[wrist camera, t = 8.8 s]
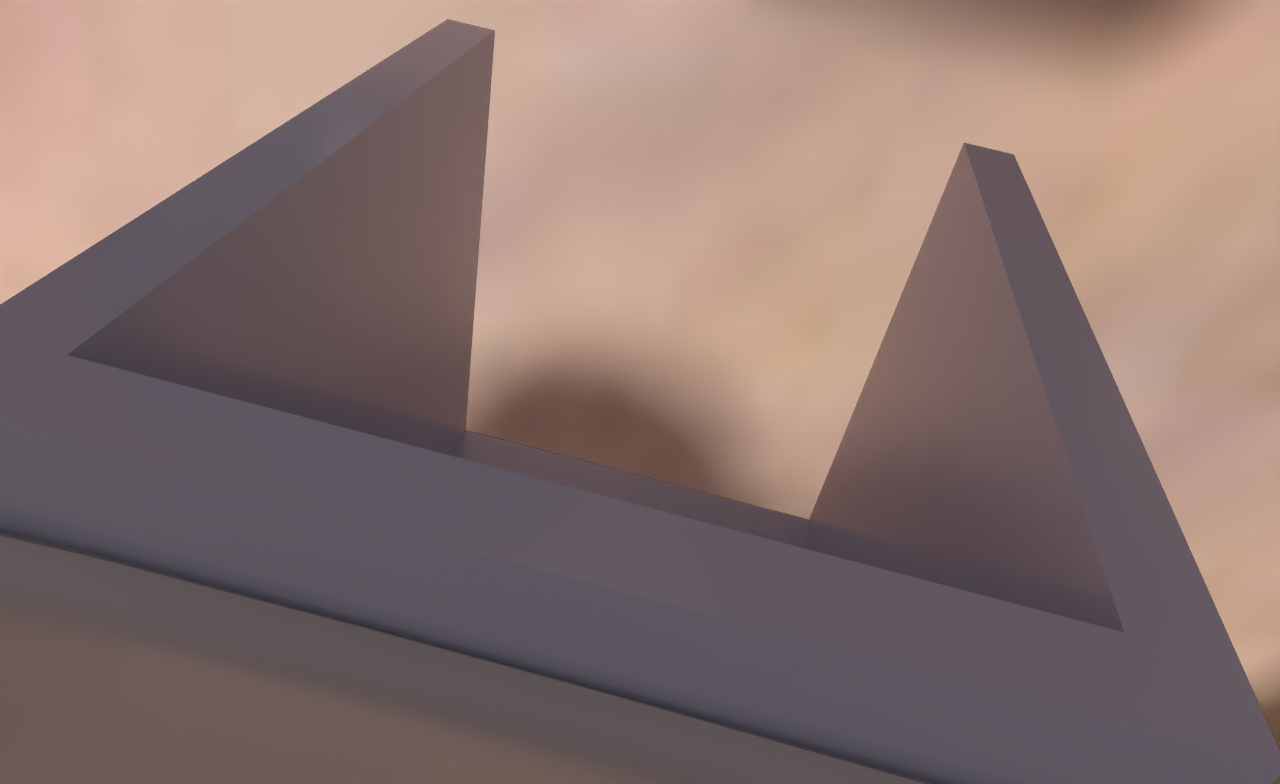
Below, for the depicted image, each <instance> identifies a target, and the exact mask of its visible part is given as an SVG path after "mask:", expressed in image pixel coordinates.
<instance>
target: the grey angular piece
mask: <svg viewBox="0 0 1280 784" xmlns="http://www.w3.org/2000/svg"><path fill="white" fill-rule="evenodd" d="M494 36H495V30H490V29H486V28H482V27H478V26H474V25H470V24H465V23H461V22H457V21H453V20H449V19H447V20H446V21H444V22H443V23H441V24H439V25H438V26H436V27H435V28H433V29H432V30H430V31H429V32H427V33H425V34H424V35H422V36H421V37H419V38H418V39H416V40H414V41H413V42H411V43H410V44H408V45H407V46H405V47H403V48H402V49H400V50H399V51H397V52H396V53H394V54H392V55H391V56H389V57H388V58H386V59H385V60H383V61H381V62H380V63H378V64H377V65H375V66H374V67H372V68H371V69H369V70H367V71H366V72H364V73H363V74H361V75H360V76H358V77H356V78H355V79H353V80H352V81H350V82H349V83H347V84H345V85H344V86H342V87H341V88H339V89H338V90H336V91H334V92H333V93H331V94H330V95H328V96H327V97H325V98H323V99H322V100H320V101H319V102H317V103H316V104H314V105H313V106H311V107H309V108H308V109H306V110H305V111H303V112H302V113H300V114H298V115H297V116H295V117H294V118H292V119H291V120H289V121H287V122H286V123H284V124H283V125H281V126H280V127H278V128H276V129H275V130H273V131H272V132H270V133H269V134H267V135H266V136H264V137H262V138H261V139H259V140H258V141H256V142H255V143H253V144H251V145H250V146H248V147H247V148H245V149H244V150H242V151H240V152H239V153H237V154H236V155H234V156H233V157H231V158H229V159H228V160H226V161H225V162H223V163H222V164H220V165H218V166H217V167H215V168H214V169H212V170H211V171H209V172H208V173H206V174H204V175H203V176H201V177H200V178H198V179H197V180H195V181H193V182H192V183H190V184H189V185H187V186H186V187H184V188H182V189H181V190H179V191H178V192H176V193H175V194H173V195H171V196H170V197H168V198H167V199H165V200H164V201H162V202H160V203H159V204H157V205H156V206H154V207H153V208H151V209H150V210H148V211H146V212H145V213H143V214H142V215H140V216H139V217H137V218H135V219H134V220H132V221H131V222H129V223H128V224H126V225H124V226H123V227H121V228H120V229H118V230H117V231H115V232H113V233H112V234H110V235H109V236H107V237H106V238H104V239H103V240H101V241H99V242H98V243H96V244H95V245H93V246H92V247H90V248H88V249H87V250H85V251H84V252H82V253H81V254H79V255H77V256H76V257H74V258H73V259H71V260H70V261H68V262H66V263H65V264H63V265H62V266H60V267H59V268H57V269H55V270H54V271H52V272H51V273H49V274H48V275H46V276H45V277H43V278H41V279H40V280H38V281H37V282H35V283H34V284H32V285H30V286H29V287H27V288H26V289H24V290H23V291H21V292H19V293H18V294H16V295H15V296H13V297H12V298H10V299H8V300H7V301H5V302H4V303H2V304H1V305H0V531H4V532H9V533H13V534H17V535H21V536H25V537H29V538H33V539H38V540H42V541H46V542H50V543H54V544H58V545H62V546H66V547H70V548H75V549H79V550H83V551H87V552H90V553H94V554H98V555H102V556H105V557H109V558H113V559H117V560H121V561H124V562H128V563H132V564H136V565H139V566H143V567H147V568H151V569H154V570H158V571H162V572H166V573H169V574H173V575H177V576H181V577H184V578H188V579H192V580H196V581H199V582H203V583H207V584H211V585H214V586H218V587H222V588H226V589H229V590H233V591H237V592H241V593H244V594H248V595H252V596H256V597H260V598H263V599H267V600H271V601H275V602H278V603H282V604H286V605H290V606H294V607H297V608H301V609H305V610H309V611H313V612H316V613H320V614H324V615H328V616H331V617H335V618H339V619H342V620H346V621H350V622H353V623H357V624H361V625H364V626H368V627H372V628H375V629H379V630H383V631H386V632H390V633H394V634H397V635H401V636H405V637H408V638H412V639H416V640H419V641H423V642H427V643H430V644H434V645H438V646H441V647H445V648H449V649H452V650H456V651H460V652H463V653H467V654H471V655H474V656H478V657H482V658H485V659H489V660H493V661H496V662H500V663H504V664H508V665H511V666H515V667H519V668H522V669H526V670H530V671H533V672H537V673H541V674H544V675H548V676H552V677H555V678H559V679H563V680H566V681H570V682H574V683H577V684H581V685H584V686H588V687H592V688H595V689H599V690H603V691H606V692H610V693H614V694H617V695H621V696H625V697H628V698H632V699H636V700H639V701H643V702H647V703H650V704H654V705H658V706H661V707H665V708H669V709H672V710H676V711H680V712H683V713H687V714H691V715H694V716H698V717H701V718H705V719H709V720H712V721H716V722H720V723H723V724H727V725H731V726H734V727H738V728H741V729H745V730H749V731H752V732H756V733H759V734H763V735H766V736H770V737H773V738H777V739H781V740H784V741H788V742H791V743H795V744H798V745H802V746H806V747H809V748H813V749H816V750H820V751H823V752H827V753H831V754H834V755H838V756H841V757H845V758H848V759H852V760H856V761H859V762H863V763H866V764H870V765H873V766H877V767H881V768H884V769H888V770H891V771H895V772H898V773H902V774H906V775H909V776H913V777H916V778H920V779H923V780H927V781H931V782H934V783H938V784H1273V783H1274V782H1275V781H1276V780H1277V779H1278V778H1279V777H1280V750H1279V748H1278V745H1277V743H1276V741H1275V739H1274V737H1273V734H1272V732H1271V730H1270V728H1269V725H1268V723H1267V721H1266V719H1265V716H1264V714H1263V712H1262V710H1261V707H1260V705H1259V703H1258V701H1257V698H1256V696H1255V694H1254V692H1253V689H1252V687H1251V685H1250V683H1249V680H1248V678H1247V676H1246V674H1245V672H1244V669H1243V667H1242V665H1241V663H1240V660H1239V658H1238V656H1237V654H1236V651H1235V649H1234V647H1233V645H1232V642H1231V640H1230V638H1229V636H1228V633H1227V631H1226V629H1225V627H1224V624H1223V622H1222V620H1221V618H1220V616H1219V613H1218V611H1217V609H1216V607H1215V604H1214V602H1213V600H1212V598H1211V595H1210V593H1209V591H1208V589H1207V586H1206V584H1205V582H1204V580H1203V577H1202V575H1201V573H1200V571H1199V568H1198V566H1197V564H1196V562H1195V559H1194V557H1193V555H1192V553H1191V551H1190V548H1189V546H1188V544H1187V542H1186V539H1185V537H1184V535H1183V533H1182V530H1181V528H1180V526H1179V524H1178V521H1177V519H1176V517H1175V515H1174V512H1173V510H1172V508H1171V506H1170V503H1169V501H1168V499H1167V497H1166V495H1165V492H1164V490H1163V488H1162V486H1161V483H1160V481H1159V479H1158V477H1157V474H1156V472H1155V470H1154V468H1153V465H1152V463H1151V461H1150V459H1149V456H1148V454H1147V452H1146V450H1145V447H1144V445H1143V443H1142V441H1141V438H1140V436H1139V434H1138V432H1137V430H1136V427H1135V425H1134V423H1133V421H1132V418H1131V416H1130V414H1129V412H1128V409H1127V407H1126V405H1125V403H1124V400H1123V398H1122V396H1121V394H1120V391H1119V389H1118V387H1117V385H1116V382H1115V380H1114V378H1113V376H1112V373H1111V371H1110V369H1109V367H1108V365H1107V362H1106V360H1105V358H1104V356H1103V353H1102V351H1101V349H1100V347H1099V344H1098V342H1097V340H1096V338H1095V335H1094V333H1093V331H1092V329H1091V326H1090V324H1089V322H1088V320H1087V317H1086V315H1085V313H1084V311H1083V309H1082V306H1081V304H1080V302H1079V300H1078V297H1077V295H1076V293H1075V291H1074V288H1073V286H1072V284H1071V282H1070V279H1069V277H1068V275H1067V273H1066V270H1065V268H1064V266H1063V264H1062V261H1061V259H1060V257H1059V255H1058V252H1057V250H1056V248H1055V246H1054V244H1053V241H1052V239H1051V237H1050V235H1049V232H1048V230H1047V228H1046V226H1045V223H1044V221H1043V219H1042V217H1041V214H1040V212H1039V210H1038V208H1037V205H1036V203H1035V201H1034V199H1033V196H1032V194H1031V192H1030V190H1029V187H1028V185H1027V183H1026V181H1025V179H1024V176H1023V174H1022V172H1021V170H1020V167H1019V165H1018V163H1017V161H1016V158H1015V156H1014V155H1013V154H1009V153H1005V152H1001V151H997V150H992V149H988V148H984V147H980V146H976V145H972V144H967V143H964V144H963V146H962V149H961V151H960V154H959V156H958V158H957V161H956V163H955V166H954V168H953V171H952V173H951V175H950V178H949V180H948V183H947V185H946V188H945V190H944V193H943V195H942V197H941V200H940V202H939V205H938V207H937V210H936V212H935V214H934V217H933V219H932V222H931V224H930V227H929V229H928V231H927V234H926V236H925V239H924V241H923V244H922V246H921V249H920V251H919V253H918V256H917V258H916V261H915V263H914V266H913V268H912V270H911V273H910V275H909V278H908V280H907V283H906V285H905V287H904V290H903V292H902V295H901V297H900V300H899V302H898V304H897V307H896V309H895V312H894V314H893V317H892V319H891V322H890V324H889V326H888V329H887V331H886V334H885V336H884V339H883V341H882V343H881V346H880V348H879V351H878V353H877V356H876V358H875V360H874V363H873V365H872V368H871V370H870V373H869V375H868V378H867V380H866V382H865V385H864V387H863V390H862V392H861V395H860V397H859V399H858V402H857V404H856V407H855V409H854V412H853V414H852V416H851V419H850V421H849V424H848V426H847V429H846V431H845V434H844V436H843V438H842V441H841V443H840V446H839V448H838V451H837V453H836V455H835V458H834V460H833V463H832V465H831V468H830V470H829V472H828V475H827V477H826V480H825V482H824V485H823V487H822V490H821V492H820V494H819V497H818V499H817V502H816V504H815V507H814V509H813V511H812V514H811V516H810V519H809V520H808V519H805V518H801V517H797V516H793V515H789V514H785V513H782V512H778V511H774V510H770V509H766V508H762V507H759V506H755V505H751V504H747V503H743V502H739V501H736V500H732V499H728V498H724V497H720V496H716V495H712V494H709V493H705V492H701V491H697V490H693V489H689V488H686V487H682V486H678V485H674V484H670V483H666V482H663V481H659V480H655V479H651V478H647V477H643V476H640V475H636V474H632V473H628V472H624V471H620V470H617V469H613V468H609V467H605V466H601V465H597V464H594V463H590V462H586V461H582V460H578V459H574V458H571V457H567V456H563V455H559V454H555V453H551V452H548V451H544V450H540V449H536V448H532V447H528V446H525V445H521V444H517V443H513V442H509V441H505V440H502V439H498V438H494V437H490V436H486V435H482V434H479V433H475V432H471V431H467V430H465V429H466V415H467V402H468V388H469V375H470V361H471V348H472V334H473V320H474V307H475V293H476V280H477V266H478V253H479V239H480V226H481V212H482V199H483V185H484V171H485V158H486V144H487V131H488V117H489V104H490V90H491V77H492V63H493V50H494Z"/></svg>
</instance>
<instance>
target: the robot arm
mask: <svg viewBox="0 0 1280 784" xmlns="http://www.w3.org/2000/svg"><path fill="white" fill-rule="evenodd" d="M0 784H938V783H934V782H931V781H927V780H923V779H920V778H916V777H913V776H909V775H906V774H902V773H898V772H895V771H891V770H888V769H884V768H881V767H877V766H873V765H870V764H866V763H863V762H859V761H856V760H852V759H848V758H845V757H841V756H838V755H834V754H831V753H827V752H823V751H820V750H816V749H813V748H809V747H806V746H802V745H798V744H795V743H791V742H788V741H784V740H781V739H777V738H773V737H770V736H766V735H763V734H759V733H756V732H752V731H749V730H745V729H741V728H738V727H734V726H731V725H727V724H723V723H720V722H716V721H712V720H709V719H705V718H701V717H698V716H694V715H691V714H687V713H683V712H680V711H676V710H672V709H669V708H665V707H661V706H658V705H654V704H650V703H647V702H643V701H639V700H636V699H632V698H628V697H625V696H621V695H617V694H614V693H610V692H606V691H603V690H599V689H595V688H592V687H588V686H584V685H581V684H577V683H574V682H570V681H566V680H563V679H559V678H555V677H552V676H548V675H544V674H541V673H537V672H533V671H530V670H526V669H522V668H519V667H515V666H511V665H508V664H504V663H500V662H496V661H493V660H489V659H485V658H482V657H478V656H474V655H471V654H467V653H463V652H460V651H456V650H452V649H449V648H445V647H441V646H438V645H434V644H430V643H427V642H423V641H419V640H416V639H412V638H408V637H405V636H401V635H397V634H394V633H390V632H386V631H383V630H379V629H375V628H372V627H368V626H364V625H361V624H357V623H353V622H350V621H346V620H342V619H339V618H335V617H331V616H328V615H324V614H320V613H316V612H313V611H309V610H305V609H301V608H297V607H294V606H290V605H286V604H282V603H278V602H275V601H271V600H267V599H263V598H260V597H256V596H252V595H248V594H244V593H241V592H237V591H233V590H229V589H226V588H222V587H218V586H214V585H211V584H207V583H203V582H199V581H196V580H192V579H188V578H184V577H181V576H177V575H173V574H169V573H166V572H162V571H158V570H154V569H151V568H147V567H143V566H139V565H136V564H132V563H128V562H124V561H121V560H117V559H113V558H109V557H105V556H102V555H98V554H94V553H90V552H87V551H83V550H79V549H75V548H70V547H66V546H62V545H58V544H54V543H50V542H46V541H42V540H38V539H33V538H29V537H25V536H21V535H17V534H13V533H9V532H4V531H0Z"/></svg>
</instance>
